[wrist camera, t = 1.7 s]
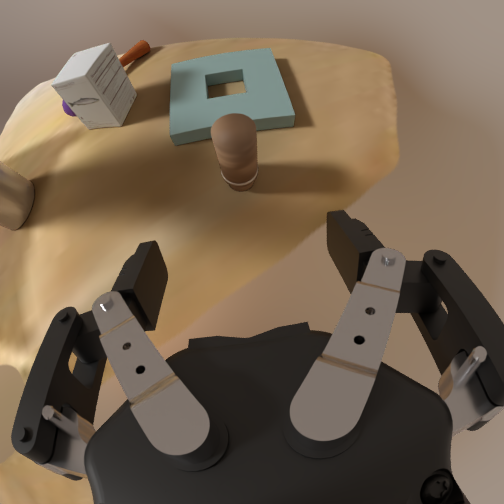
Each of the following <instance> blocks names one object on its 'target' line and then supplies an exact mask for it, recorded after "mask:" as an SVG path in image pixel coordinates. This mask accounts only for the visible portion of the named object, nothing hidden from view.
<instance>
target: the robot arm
mask: <svg viewBox="0 0 504 504" xmlns="http://www.w3.org/2000/svg"><path fill="white" fill-rule="evenodd" d="M33 200H34V186H33V184H32V182H30V181H29V180H27V179H26V178H24V177H23V176H21V175H20V174H18V173H17V172H15V171H14V170H12V169H11V168H9V167H8V166H6V165H5V164H4V163H2V162H1V161H0V225H1V226H3V227H6V228H8V229H10V230H16V229H18V228H19V227H20V226H21V225H22V224H23V223H24V222H25V220H26V219H27V217H28V215H29V213H30V210H31V208H32V205H33ZM327 247H328V251H329V254H330V256H331V258H332V260H333V261H334V263H335V265H336V267H337V269H338V270H339V273H340V274H341V276H342V278H343V280H344V282H345V284H346V286H347V288H348V290H349V292H350V294H351V296H350V298H349V301H348V303H347V305H346V307H345V309H344V311H343V314H342V316H341V318H340V320H339V322H338V324H337V326H336V328H335V330H334V332H333V334H331V333H327V332H322V331H313V330H310V329H309V325H308V322H304V323H299V324H294V325H288V326H282V327H277V328H275V329H272V330H270V331H267V332H264V333H262V334H258V335H256V336H253V337H250V338H235V337H222V336H213V337H204V338H195V339H189V345H188V348H187V349H184V350H182V351H179V352H177V353H175V354H173V355H172V356H170V357H169V358H168V359H166V360H164V359H163V357H162V356H161V355H160V353H159V352H158V350H157V349H156V348H155V346H154V345H153V343H152V342H151V340H150V339H149V338H148V336H147V335H146V333H145V331H152V330H155V328H156V324H157V319H158V315H159V311H160V307H161V303H162V299H163V296H164V292H165V288H166V284H167V281H168V272H167V268H166V265H165V262H164V260H163V257H162V254H161V251H160V249H159V246H158V244H157V242H156V241H149V242H144V243H140V244H139V246H138V248H137V250H136V252H135V254H134V255H132V256H131V257H130V258H129V259H128V260H127V261H126V262H125V264H124V265H123V267H122V270H121V271H120V273H119V276H118V277H117V279H116V282H115V284H114V286H113V288H112V290H111V292H107V293H105V294H103V295H101V296H100V297H98V298H97V299H96V300H95V302H94V303H93V305H92V310H91V311H88V312H86V313H83V314H80V315H79V313H78V312H77V310H76V309H75V308H74V307H67V308H64V309H62V310H61V311H59V312H58V313H57V314H56V315H55V317H54V318H53V320H52V322H51V324H50V327H49V329H48V331H47V333H46V335H45V337H44V340H43V342H42V344H41V346H40V349H39V351H38V354H37V356H36V358H35V361H34V363H33V366H32V369H31V371H30V374H29V377H28V379H27V382H26V385H25V388H24V391H23V395H22V397H21V400H20V404H19V407H18V411H17V414H16V418H15V422H14V425H13V430H12V435H11V438H12V444H13V447H14V448H15V450H16V451H17V452H19V453H20V454H22V455H24V456H25V457H27V458H29V459H31V460H32V461H34V462H35V463H36V464H38V465H40V466H42V467H44V468H46V469H48V470H50V471H52V472H54V473H56V474H59V475H62V476H65V477H67V478H69V479H72V480H81V479H82V478H87V479H88V480H89V483H90V486H91V490H92V494H93V500H94V504H470V502H469V501H468V499H467V498H466V496H465V495H464V493H463V492H462V491H461V489H460V488H459V486H458V484H457V483H456V481H455V479H454V477H453V475H452V471H451V461H450V450H451V440H452V436H454V435H456V434H458V433H460V432H462V431H463V430H466V429H467V430H470V431H475V430H478V429H479V428H481V427H482V426H484V425H485V424H486V423H487V422H488V421H490V420H491V419H492V418H493V417H495V416H496V415H497V414H498V413H499V412H500V411H502V410H503V409H504V324H503V322H502V321H501V319H500V318H499V316H498V315H497V314H496V312H495V311H494V309H493V308H492V307H491V305H490V304H489V302H488V301H487V300H486V298H485V297H484V296H483V294H482V293H481V292H480V291H479V289H478V288H477V287H476V285H475V284H474V283H473V282H472V281H471V279H470V278H469V277H468V276H467V274H466V273H464V271H463V270H462V269H461V267H460V266H459V265H458V264H457V263H456V262H455V260H454V259H453V258H452V257H451V256H450V255H448V254H447V253H445V252H443V251H440V250H429V251H427V252H426V253H425V254H424V257H423V261H407V260H406V259H405V257H404V256H403V254H402V253H400V252H399V251H397V250H395V249H391V248H385V247H384V246H383V245H382V243H381V242H380V241H379V240H378V239H377V238H376V236H375V235H373V233H372V232H371V231H370V230H369V228H368V227H367V226H366V225H365V224H364V223H363V222H361V221H359V220H357V219H351V218H350V217H349V216H348V214H347V213H346V212H345V211H344V210H338V211H331V212H328V213H327ZM442 301H443V302H444V304H445V305H446V307H447V310H448V314H447V312H446V311H445V309H444V308H443V307H442V305H441V302H442ZM395 313H411V315H412V317H413V319H414V321H415V323H416V324H417V326H418V328H419V330H420V332H421V334H422V336H423V338H424V340H425V342H426V344H427V346H428V348H429V350H430V352H431V354H432V356H433V358H434V360H435V363H436V365H437V367H438V369H439V371H440V373H441V378H440V380H439V383H438V389H439V393H440V395H438V394H437V393H435V392H434V391H432V390H430V389H428V388H427V387H425V386H423V385H421V384H420V383H418V382H416V381H414V380H412V379H411V378H409V377H407V376H406V375H404V374H402V373H400V372H399V371H397V370H395V369H393V368H392V367H390V366H388V365H387V364H385V363H383V362H381V360H382V357H383V354H384V350H385V348H386V344H387V341H388V338H389V334H390V331H391V327H392V323H393V320H394V316H395ZM72 352H73V353H74V354H75V355H76V357H77V361H76V364H75V367H74V370H73V374H72V373H71V372H70V370H69V366H68V362H69V358H70V355H71V353H72ZM107 357H108V360H109V362H110V364H111V366H112V368H113V370H114V372H115V375H116V377H117V379H118V381H119V383H120V385H121V386H122V389H123V391H124V392H125V394H126V396H127V398H128V399H127V400H126V401H125V402H124V404H123V405H122V406H121V407H120V408H119V409H118V410H117V411H116V412H115V413H114V414H113V415H112V416H111V417H110V418H109V419H108V420H107V421H106V422H105V423H104V424H103V425H102V426H101V427H100V428H99V429H98V430H97V431H95V429H94V427H93V422H94V416H95V411H96V405H97V400H98V395H99V390H100V386H101V381H102V377H103V372H104V368H105V364H106V360H107Z"/></svg>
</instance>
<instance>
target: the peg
mask: <svg viewBox="0 0 504 504" xmlns="http://www.w3.org/2000/svg"><path fill="white" fill-rule="evenodd" d="M211 137H212V140H213V144H214V147H215V150H216V154H217V157H218V161H219V164H220V168H221V173H222V176H223V178H224V180H225V181H226V182H227V183H228V184H229V185H230V187H231V188H232V189H234V190H236V191H246V190H248V189H250V188H251V187H252V186H253V184H254V181H255V179H256V177H257V174H258V162H257V136H256V125H255V123H254V121H253V120H252V119H251V118H250V117H248V116H246V115H244V114H239V113H232V114H227V115H224V116H222V117H220V118H219V119H217V120H216V121H215V122H214V124H213V125H212V128H211Z"/></svg>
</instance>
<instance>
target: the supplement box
mask: <svg viewBox="0 0 504 504" xmlns="http://www.w3.org/2000/svg"><path fill="white" fill-rule="evenodd" d="M51 86H52V87H53V88H54V89H55V90H56V91H57V93H58V94H59V95H60V96H61V97H62V99H63V100H64V101H65V102H66V104H67V105H68V106H69V107H70V108H71V110H72V111H73V112H74V113H75V114H76V115H77V117H78V118H79V119H80V120H81V121H82V122H83V124H84V125H85V126H86V127H87V128H88V129H94V128H103V127H120V126H122V124H123V122H124V120H125V118H126V116H127V114H128V112H129V110H130V108H131V106H132V104H133V102H134V100H135V98H136V96H137V94H136V92H135V90H134V88H133V86H132V84H131V82H130V80H129V78H128V76H127V74H126V72H125V70H124V69H123V67H122V65H121V63H120V61H119V59H118V57H117V55H116V53H115V51H114V49H113V47H112V45H111V43H107V44H103V45H100V46H96V47H93V48H89V49H86V50H83V51H80V52H77V53H75V54H74V55H73V56H72V57H71V58H70V59H69V61H68V62H67V63H66V64H65V66H64V67H63V69H62V70H61V71H60V73H59V74H58V75H57V77H56V78H55V80H54V81H53V83H52V84H51Z"/></svg>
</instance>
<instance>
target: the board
mask: <svg viewBox="0 0 504 504" xmlns="http://www.w3.org/2000/svg"><path fill="white" fill-rule="evenodd" d="M242 80H244V84H245V89H246V93H240V94H233V95H227V96H221V97H216V98H210V99H209V97H208V86H211V85H216V84H222V83H228V82H235V81H242ZM232 113H239V114H244V115H246V116H248V117H250V118H251V119H252V120H253V121H254V123H255V125H256V131H258V130H266V129H274V128H284V127H293V126H294V119H295V113H294V110H293V107H292V104H291V101H290V99H289V96H288V93H287V90H286V87H285V85H284V82H283V79H282V77H281V74H280V71H279V69H278V66H277V64H276V61H275V59H274V56H273V54H272V51H271V49H270V48H265V49H254V50H245V51H237V52H230V53H223V54H217V55H211V56H206V57H201V58H196V59H191V60H187V61H183V62H179V63H175V64H172V69H171V90H170V137H171V139H172V141H173V143H174V145H175V146H177V145H181V144H185V143H190V142H194V141H199V140H204V139H209V138H212V137H211V128H212V125H213V124H214V122H215V121H216V120H217V119H219V118H220V117H222V116H224V115H227V114H232Z"/></svg>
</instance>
